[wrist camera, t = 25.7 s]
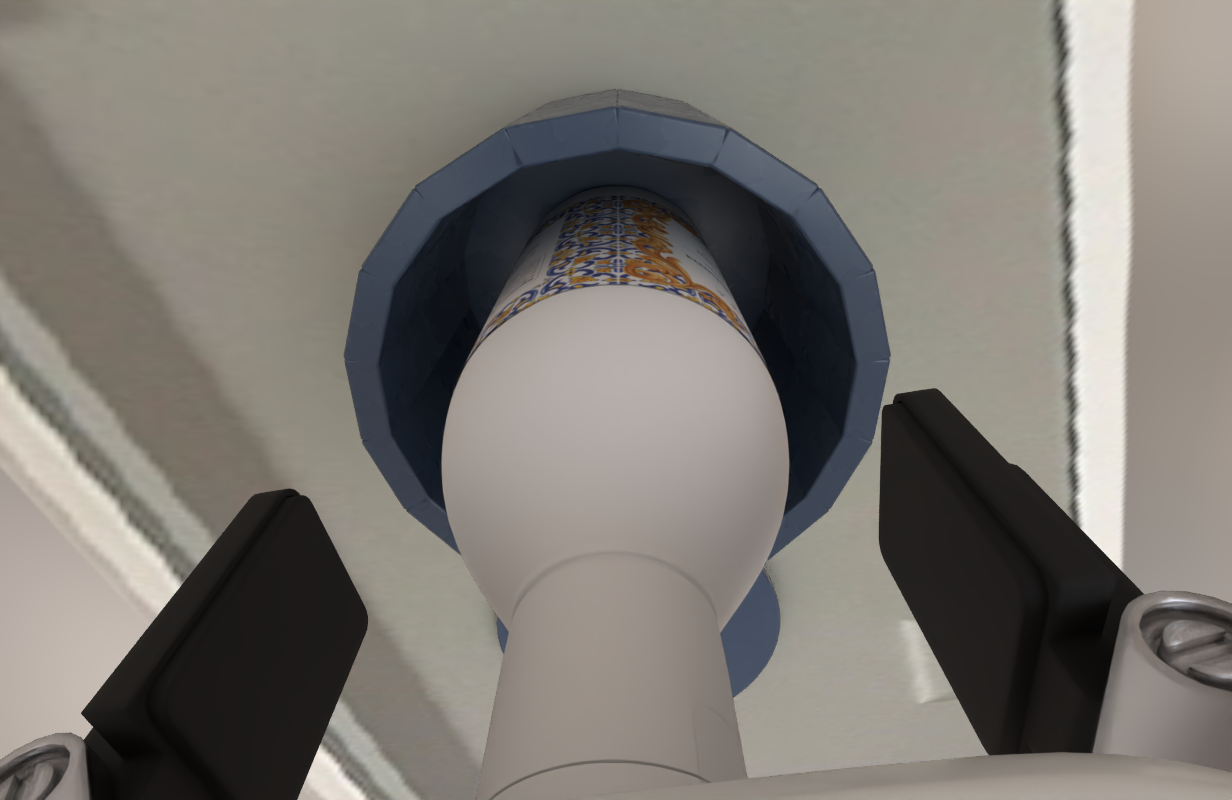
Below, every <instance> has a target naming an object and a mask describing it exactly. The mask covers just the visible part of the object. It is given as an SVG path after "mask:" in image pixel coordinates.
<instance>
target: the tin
mask: <svg viewBox="0 0 1232 800" xmlns="http://www.w3.org/2000/svg"><path fill="white" fill-rule="evenodd" d="M604 186H628V187H635V188H639V189H643V190H646V191H649V192H652V193H654V194H657V195H659V196H661V197H663V198H665V199H666V200H668V201H670V202H671V203H673V204H674V205H675V206H677V207H678V208H679V209H680V210H681V211H682V212H684V213H685V214H686V215H687V216H688V218H689V219H690V220H691V221H692V222H693V223H694V225H695V226H696V228H697V229H698V231H699V232H700V234H701V235H702V237H703V239H704V241H705V243H706V245H707V246H708V248H709V250H710V252H711V254H712V256H713V258H714V260H715V262H716V264H717V266H718V268H719V270H720V272H721V274H722V276H723V278H724V280H725V282H726V284H727V286H728V288H729V290H730V292H731V294H732V296H733V298H734V300H735V302H736V304H737V306H738V308H739V310H740V312H741V314H742V316H743V318H744V320H745V322H746V324H747V326H748V328H749V330H750V332H751V334H752V336H753V338H754V340H755V342H756V344H757V346H758V348H759V350H760V353H761V355H762V357H763V359H764V361H765V363H766V365H767V367H768V369H769V371H770V373H771V375H772V377H773V379H774V382H775V384H776V387H777V390H778V393H779V397H780V401H781V406H782V411H783V415H784V419H785V425H786V431H787V438H788V450H789V479H788V492H787V498H786V504H785V509H784V514H783V518H782V522H781V525H780V528H779V531H778V534H777V537H776V540H775V542H774V545H773V548H772V550H771V552H770V554H769V556H768V558H767V559H768V560H769V559H770V558H772V557H773V556H774V555H775V554H776V553H778V552H779V551H780V550H781V549H783V548H784V547H785V546H786V545H787V544H789V543H790V542H791V541H792V540H794V539H795V538H796V537H797V536H799V535H800V534H801V533H802V532H803V531H805V530H806V529H807V528H808V527H810V526H811V525H812V524H813V523H814V522H816V521H817V520H818V519H819V518H821V517H822V516H823V515H824V514H825V513H827V512H828V511H829V509H830V508H831V507H832V505H833V504H834V502H835V501H836V499H837V497H838V496H839V494H840V493H841V491H842V490H843V488H844V486H845V485H846V483H847V482H848V480H849V479H850V477H851V476H852V474H853V472H854V471H855V469H856V468H857V466H858V465H859V463H860V461H861V460H862V458H863V457H864V455H865V454H866V452H867V450H868V449H869V447H870V446H871V444H872V439H873V438H874V434H875V429H876V424H877V420H878V415H879V410H880V406H881V401H882V396H883V391H884V387H885V382H886V377H887V373H888V368H889V363H890V359H889V358H890V355H891V354H890V349H889V343H888V338H887V332H886V327H885V322H884V316H883V311H882V305H881V300H880V294H879V289H878V284H877V278H876V273H875V270H874V269H873V265H872V263H871V262H870V260H869V259H868V257H867V256H866V255H865V253H864V252H863V250H862V249H861V247H860V246H859V244H858V243H857V241H856V240H855V238H854V237H853V235H852V234H851V232H850V231H849V229H848V228H847V226H846V225H845V223H844V222H843V220H842V219H841V217H840V216H839V214H838V213H837V211H836V210H835V208H834V207H833V205H832V204H831V202H830V201H829V199H828V198H827V196H826V195H825V193H824V192H823V190H822V189H821V188H819V187H818V185H817V184H816V183H815V182H813V181H811V180H810V179H808V178H807V177H805V176H804V175H802V174H801V173H799V172H798V171H796V170H795V169H793V168H792V167H790V166H788V165H787V164H785V163H784V162H782V161H781V160H779V159H778V158H776V157H775V156H773V155H772V154H770V153H769V152H767V151H766V150H764V149H762V148H761V147H759V146H758V145H756V144H755V143H753V142H752V141H750V140H749V139H747V138H746V137H744V136H743V135H741V134H739V133H738V132H736V131H735V130H733V129H732V128H730V127H728V126H726V125H725V124H723V123H721V122H719V121H718V120H716V119H714V118H712V117H710V116H709V115H707V114H705V113H703V112H702V111H700V110H698V109H696V108H694V107H693V106H691V105H689V104H687V103H684V102H682V101H678V100H673V99H667V98H662V97H659V96H653V95H647V94H642V93H637V92H631V91H626V90H621V89H619V90H616V89H613V90H608V91H603V92H598V93H593V94H586V95H581V96H577V97H572V98H567V99H562V100H557V101H552V102H550V103H547V104H545V105H543V106H542V107H540V108H538V109H536V110H535V111H533V112H531V113H529V114H527V115H526V116H524V117H522V118H520V119H518V120H517V121H515V122H513V123H511V124H510V125H508V126H506V127H504V128H502V129H501V130H499V131H498V132H496V133H495V134H493V135H492V136H490V137H489V138H487V139H486V140H484V141H483V142H481V143H480V144H478V145H476V146H475V147H473V148H472V149H470V150H469V151H467V152H466V153H464V154H463V155H461V156H460V157H458V158H457V159H455V160H454V161H452V162H451V163H449V164H448V165H446V166H445V167H443V168H442V169H440V170H438V171H437V172H435V173H434V174H432V175H431V176H429V177H428V178H426V179H425V180H423V181H422V182H420V183H419V184H417V185H416V186H415V188H414V189H413V190H412V191H411V192H410V194H409V195H408V197H407V198H406V200H405V201H404V203H403V204H402V206H401V207H400V209H399V210H398V212H397V213H396V215H395V216H394V218H393V219H392V221H391V222H390V224H389V225H388V227H387V228H386V230H385V231H384V233H383V234H382V236H381V237H380V239H379V240H378V242H377V244H376V245H375V247H374V248H373V250H372V251H371V253H370V254H369V256H368V257H367V259H366V260H365V262H364V263H363V265H362V269H361V270H360V271H359V274H358V280H357V285H356V291H355V296H354V302H353V307H352V313H351V318H350V324H349V329H348V335H347V340H346V346H345V351H344V358H345V366H346V370H347V375H348V380H349V384H350V389H351V394H352V398H353V403H354V408H355V413H356V417H357V422H358V427H359V431H360V436H361V439H362V440H363V441H362V443H363V445H364V447H365V448H366V450H367V451H368V453H369V454H370V456H371V458H372V459H373V461H374V462H375V464H376V465H377V467H378V468H379V470H380V472H381V473H382V475H383V476H384V478H385V479H386V481H387V483H388V484H389V486H390V487H391V489H392V490H393V492H394V494H395V495H396V497H397V498H398V500H399V501H400V503H401V504H402V506H403V508H404V509H406V510H407V512H408V513H410V514H411V515H412V516H413V517H414V518H416V519H417V520H418V521H419V522H421V523H422V524H423V525H424V526H426V527H427V528H428V529H429V530H430V531H432V532H433V533H434V534H435V535H437V536H438V537H439V538H440V539H441V540H443V541H444V542H445V543H446V544H448V545H449V546H450V547H451V548H452V549H454V550H455V551H456V552H457V553H459V554H460V555H461V553H460V551H459V549H458V546H457V544H456V541H455V538H454V535H453V532H452V530H451V526H450V523H449V520H448V516H447V511H446V505H445V500H444V494H443V485H442V446H443V436H444V430H445V424H446V418H447V414H448V410H449V406H450V401H451V397H452V393H453V390H454V387H455V384H456V381H457V379H458V377H459V375H460V372H461V370H462V368H463V367H464V365H465V363H466V361H467V359H468V357H469V355H470V353H471V351H472V349H473V347H474V345H475V343H476V341H477V339H478V337H479V335H480V333H481V331H482V329H483V327H484V325H485V323H486V321H487V319H488V317H489V315H490V313H491V312H492V310H493V308H494V306H495V304H496V302H497V300H498V298H499V296H500V294H501V292H502V290H503V288H504V286H505V284H506V282H507V280H508V278H509V276H510V274H511V272H512V270H513V268H514V266H515V264H516V262H517V260H518V258H519V257H520V255H521V253H522V251H523V249H524V247H525V245H526V244H527V242H528V240H529V238H530V236H531V235H532V233H533V231H534V230H535V228H536V227H537V226H538V224H539V223H540V222H541V221H542V220H543V218H544V217H545V216H546V215H547V214H549V213H550V212H551V211H552V210H553V209H554V208H556V207H557V206H558V205H560V204H561V203H563V202H564V201H566V200H567V199H569V198H571V197H572V196H574V195H576V194H579V193H581V192H583V191H586V190H590V189H593V188H598V187H604ZM461 556H462V555H461Z"/></svg>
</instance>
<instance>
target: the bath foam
mask: <svg viewBox="0 0 1232 800" xmlns="http://www.w3.org/2000/svg"><path fill="white" fill-rule="evenodd" d="M788 479H789V450H788V438H787V431H786V425H785V419H784V415H783V411H782V406H781V401H780V397H779V393H778V390H777V387H776V384H775V382H774V379H773V377H772V375H771V373H770V371H769V369H768V367H767V365H766V363H765V361H764V359H763V357H762V355H761V353H760V350H759V348H758V346H757V344H756V342H755V340H754V338H753V336H752V334H751V332H750V330H749V328H748V326H747V324H746V322H745V320H744V318H743V316H742V314H741V312H740V310H739V308H738V306H737V304H736V302H735V300H734V298H733V296H732V294H731V292H730V290H729V288H728V286H727V284H726V282H725V280H724V278H723V276H722V274H721V272H720V270H719V268H718V266H717V264H716V262H715V260H714V258H713V256H712V254H711V252H710V250H709V248H708V246H707V245H706V243H705V241H704V239H703V237H702V235H701V234H700V232H699V231H698V229H697V228H696V226H695V225H694V223H693V222H692V221H691V220H690V219H689V218H688V216H687V215H686V214H685V213H684V212H682V211H681V210H680V209H679V208H678V207H677V206H675V205H674V204H673V203H671V202H670V201H668V200H666V199H665V198H663V197H661V196H659V195H657V194H654V193H652V192H649V191H646V190H643V189H639V188H635V187H628V186H604V187H598V188H593V189H590V190H586V191H583V192H581V193H579V194H576V195H574V196H572V197H571V198H569V199H567V200H566V201H564V202H563V203H561V204H560V205H558V206H557V207H556V208H554V209H553V210H552V211H551V212H550V213H549V214H547V215H546V216H545V217H544V218H543V220H542V221H541V222H540V223H539V224H538V226H537V227H536V228H535V230H534V231H533V233H532V235H531V236H530V238H529V240H528V242H527V244H526V245H525V247H524V249H523V251H522V253H521V255H520V257H519V258H518V260H517V262H516V264H515V266H514V268H513V270H512V272H511V274H510V276H509V278H508V280H507V282H506V284H505V286H504V288H503V290H502V292H501V294H500V296H499V298H498V300H497V302H496V304H495V306H494V308H493V310H492V312H491V313H490V315H489V317H488V319H487V321H486V323H485V325H484V327H483V329H482V331H481V333H480V335H479V337H478V339H477V341H476V343H475V345H474V347H473V349H472V351H471V353H470V355H469V357H468V359H467V361H466V363H465V365H464V367H463V368H462V370H461V372H460V375H459V377H458V379H457V381H456V384H455V387H454V390H453V393H452V397H451V401H450V406H449V410H448V414H447V418H446V424H445V430H444V436H443V446H442V485H443V494H444V500H445V505H446V511H447V516H448V520H449V523H450V526H451V530H452V532H453V535H454V538H455V541H456V544H457V546H458V549H459V551H460V553H461V555H462V557H463V559H464V561H465V563H466V565H467V568H468V569H469V571H470V573H471V575H472V577H473V578H474V580H475V582H476V583H477V585H478V587H479V588H480V590H481V592H482V593H483V595H484V596H485V598H486V599H487V601H488V602H489V604H490V605H491V607H492V608H493V610H494V611H495V613H496V614H497V616H498V617H499V618H500V620H501V621H502V623H503V624H504V626H505V627H506V629H507V630H508V631H509V634H508V638H507V643H506V647H505V652H504V656H503V661H502V666H501V671H500V676H499V681H498V686H497V691H496V696H495V701H494V706H493V711H492V717H491V722H490V727H489V732H488V737H487V743H486V748H485V753H484V758H483V763H482V768H481V774H480V779H479V784H478V789H477V794H476V800H558V799H567V798H576V797H585V796H594V795H603V794H612V793H621V792H630V791H638V790H648V789H657V788H666V787H676V786H685V785H694V784H704V783H713V782H722V781H732V780H741V779H748V778H747V772H746V767H745V762H744V756H743V751H742V745H741V740H740V734H739V729H738V723H737V718H736V712H735V707H734V701H733V696H732V690H731V685H730V679H729V674H728V669H727V664H726V659H725V654H724V649H723V644H722V640H721V635H720V632H721V631H722V630H723V628H724V627H725V625H726V624H727V623H728V621H729V620H730V618H731V617H732V615H733V614H734V613H735V611H736V610H737V608H738V607H739V605H740V604H741V603H742V601H743V600H744V598H745V597H746V595H747V594H748V592H749V590H750V589H751V587H752V586H753V584H754V582H755V581H756V579H757V577H758V576H759V574H760V572H761V570H762V568H763V566H764V564H765V562H766V560H767V558H768V556H769V554H770V552H771V550H772V548H773V545H774V542H775V540H776V537H777V534H778V531H779V528H780V525H781V522H782V518H783V514H784V509H785V504H786V498H787V492H788Z"/></svg>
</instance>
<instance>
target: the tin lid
mask: <svg viewBox="0 0 1232 800" xmlns="http://www.w3.org/2000/svg"><path fill="white" fill-rule="evenodd" d="M497 631H498V638H499V642H500V646H501V649H502V652H503V654H504V652H505V647H506V643H507V638H508V634H509V631H508V630H507V629H506V627H505V626H504V624H503V623H502V621H501V620H500V618H499V617H498V616H497ZM779 631H780V609H779V604H778V599H777V595H776V592H775V590H774V587H773V584H772V582H771V579H770V577H769V576H768V574H767V572H766V571H765V569H764V567H763V568H762V570H761V572H760V574H759V576H758V577H757V579H756V581H755V582H754V584H753V586H752V587H751V589H750V590H749V592H748V594H747V595H746V597H745V598H744V600H743V601H742V603H741V604H740V605H739V607H738V608H737V610H736V611H735V613H734V614H733V615H732V617H731V618H730V620H729V621H728V623H727V624H726V625H725V627H724V628H723V630H722V631H721V632H720V635H721V640H722V644H723V649H724V654H725V659H726V664H727V669H728V674H729V679H730V685H731V690H732V696H733V697H735V696H736V695H737V694H739V693H740V692H741V691H743V690H744V689H745V688H747V687H748V686H749V685H750V684H751V683H752V682H753V681H754V680H755V679H756V678H757V677H758V675H759V674H760V673H761V672H762V670H763V669H764V668H765V666H766V665H767V663H768V661H769V660H770V658H771V656H772V654H773V652H774V649H775V646H776V644H777V641H778V636H779Z"/></svg>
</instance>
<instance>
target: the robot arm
mask: <svg viewBox="0 0 1232 800" xmlns="http://www.w3.org/2000/svg"><path fill="white" fill-rule="evenodd" d="M879 544H880V549H881V553H882V556H883V559H884V561H885V563H886V565H887V567H888V569H889V570H890V572H891V574H892V576H893V578H894V580H895V582H896V584H897V585H898V587H899V589H900V591H901V593H902V595H903V597H904V599H905V600H906V602H907V604H908V606H909V608H910V610H911V612H912V614H913V615H914V617H915V619H916V621H917V623H918V625H919V627H920V629H921V631H922V632H923V634H924V636H925V638H926V640H927V642H928V644H929V646H930V647H931V649H932V651H933V653H934V655H935V657H936V659H937V661H938V662H939V664H940V666H941V668H942V670H943V672H944V674H945V676H946V678H947V679H948V681H949V683H950V685H951V687H952V689H953V691H954V693H955V694H956V696H957V698H958V700H959V702H960V704H961V706H962V708H963V709H964V711H965V713H966V715H967V717H968V719H969V721H970V723H971V725H972V726H973V728H974V730H975V732H976V734H977V736H978V738H979V740H980V741H981V743H982V745H983V747H984V749H985V750H986V752H987V753H988V754H989V755H988V756H976V757H965V758H954V759H943V760H932V761H920V762H909V763H898V764H887V765H876V766H865V767H854V768H843V769H834V770H825V771H815V772H806V773H797V774H787V775H778V776H769V777H759V778H750V779H741V780H732V781H722V782H713V783H704V784H694V785H685V786H676V787H666V788H657V789H648V790H638V791H630V792H621V793H612V794H603V795H594V796H585V797H576V798H567V799H558V800H1232V604H1231V603H1228V602H1226V601H1223V600H1220V599H1217V598H1215V597H1211V596H1206V595H1201V594H1196V593H1191V592H1185V591H1158V592H1154V593H1149V594H1143V593H1142V592H1141V591H1140V590H1139V589H1138V588H1137V586H1136V585H1135V584H1134V583H1133V582H1132V581H1131V580H1130V579H1129V578H1128V577H1127V576H1126V575H1125V574H1124V573H1123V572H1122V571H1121V570H1120V569H1119V568H1118V567H1117V566H1116V565H1115V564H1114V563H1113V562H1112V561H1111V560H1110V559H1109V558H1108V557H1107V556H1106V555H1105V554H1104V552H1103V551H1102V550H1101V549H1100V548H1099V547H1098V546H1097V545H1096V544H1095V543H1094V542H1093V541H1092V540H1091V539H1090V538H1089V537H1088V536H1087V535H1086V534H1085V533H1084V532H1083V531H1082V530H1081V529H1080V528H1079V527H1078V526H1077V525H1076V524H1075V523H1074V522H1073V521H1072V520H1071V518H1070V517H1069V516H1068V515H1067V514H1066V513H1065V512H1064V511H1063V510H1062V509H1061V508H1060V507H1059V506H1058V505H1057V504H1056V503H1055V502H1054V501H1053V500H1052V499H1051V498H1050V497H1049V496H1048V495H1047V494H1046V493H1045V492H1044V491H1043V490H1042V489H1041V488H1040V487H1039V486H1038V485H1037V483H1036V482H1035V481H1034V480H1033V479H1032V478H1031V477H1030V476H1029V475H1028V474H1027V473H1026V472H1025V471H1024V470H1022V469H1021V468H1020V467H1018V466H1017V465H1014V464H1010V463H1008V462H1007V461H1006V460H1005V459H1004V458H1003V457H1002V456H1001V455H1000V454H999V453H998V451H997V450H996V449H995V448H994V447H993V446H992V445H991V444H990V443H989V442H988V441H987V440H986V439H985V438H984V437H983V436H982V435H981V434H980V433H979V432H978V430H977V429H976V428H975V427H974V426H973V425H972V424H971V423H970V422H969V421H968V420H967V419H966V418H965V417H964V416H963V415H962V414H961V413H960V412H959V410H958V409H957V408H956V407H955V406H954V405H953V404H952V403H951V402H950V401H949V400H948V399H947V398H946V397H945V396H944V395H943V394H942V393H941V392H940V391H939V390H938V389H935V388H932V389H926V390H919V391H913V392H906V393H900V394H897V395H896V396H895V397H894V400H893V404H890V405H885V406H884V407H883V410H882V427H881V466H880V505H879ZM367 626H368V615H367V611H366V608H365V606H364V604H363V602H362V600H361V598H360V596H359V594H358V592H357V590H356V588H355V586H354V584H353V582H352V580H351V578H350V576H349V574H348V573H347V571H346V569H345V567H344V565H343V563H342V561H341V559H340V557H339V555H338V553H337V551H336V549H335V547H334V545H333V543H332V541H331V539H330V537H329V535H328V533H327V531H326V529H325V527H324V525H323V524H322V522H321V520H320V518H319V516H318V514H317V512H316V510H315V508H314V506H313V504H312V502H311V501H310V499H309V498H308V497H306V496H303V495H300V494H299V493H298V492H297V491H296V490H294V489H283V490H277V491H271V492H264V493H259V494H255V495H253V496H252V497H251V498H250V499H249V500H248V502H247V503H246V504H245V506H244V507H243V508H242V509H241V511H240V512H239V513H238V514H237V516H236V517H235V518H234V519H233V521H232V522H231V523H230V525H229V526H228V527H227V528H226V530H225V531H224V532H223V533H222V535H221V536H220V537H219V539H218V540H217V541H216V542H215V544H214V545H213V546H212V547H211V549H210V550H209V551H208V552H207V554H206V555H205V556H204V558H203V559H202V560H201V561H200V563H199V564H198V565H197V566H196V568H195V569H194V570H193V571H192V573H191V574H190V575H189V577H188V578H187V579H186V580H185V582H184V583H183V584H182V585H181V587H180V588H179V589H178V591H177V592H176V593H175V594H174V596H173V597H172V598H171V599H170V601H169V602H168V603H167V604H166V606H165V607H164V608H163V610H162V611H161V612H160V613H159V615H158V616H157V617H156V618H155V620H154V621H153V622H152V624H151V625H150V626H149V627H148V629H147V630H146V631H145V632H144V634H143V635H142V636H141V637H140V639H139V640H138V641H137V643H136V644H135V645H134V646H133V648H132V649H131V650H130V651H129V653H128V654H127V655H126V656H125V658H124V659H123V660H122V662H121V663H120V664H119V665H118V667H117V668H116V669H115V670H114V672H113V673H112V674H111V676H110V677H109V678H108V679H107V681H106V682H105V683H104V685H103V686H102V687H101V688H100V690H99V691H98V692H97V693H96V695H95V696H94V697H93V699H92V700H91V701H90V702H89V703H88V705H87V706H86V707H85V709H84V710H83V711H82V712H81V714H82V715H83V716H84V717H85V718H86V720H87V721H88V722H89V723H90V724H91V725H92V726H93V728H92V730H91V731H90V732H89V734H88V735H87V736H86V738H85V739H84V740H83V739H82V738H81V737H79V736H77V735H75V734H72V733H55V734H52V735H48V736H45V737H42V738H39V739H36V740H34V741H32V742H30V743H28V744H26V745H24V746H22V747H20V748H18V749H16V750H14V751H13V752H11V753H10V754H8V755H7V756H5V757H4V758H2V759H1V760H0V800H297V799H298V796H299V794H300V791H301V789H302V787H303V784H304V782H305V779H306V777H307V774H308V772H309V770H310V767H311V765H312V762H313V760H314V757H315V755H316V753H317V750H318V748H319V745H320V743H321V740H322V738H323V736H324V733H325V731H326V728H327V726H328V723H329V721H330V719H331V716H332V714H333V711H334V709H335V706H336V704H337V702H338V699H339V697H340V694H341V692H342V690H343V687H344V685H345V682H346V680H347V677H348V675H349V673H350V670H351V668H352V665H353V663H354V660H355V658H356V656H357V653H358V651H359V648H360V646H361V643H362V641H363V639H364V636H365V634H366V631H367Z"/></svg>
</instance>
